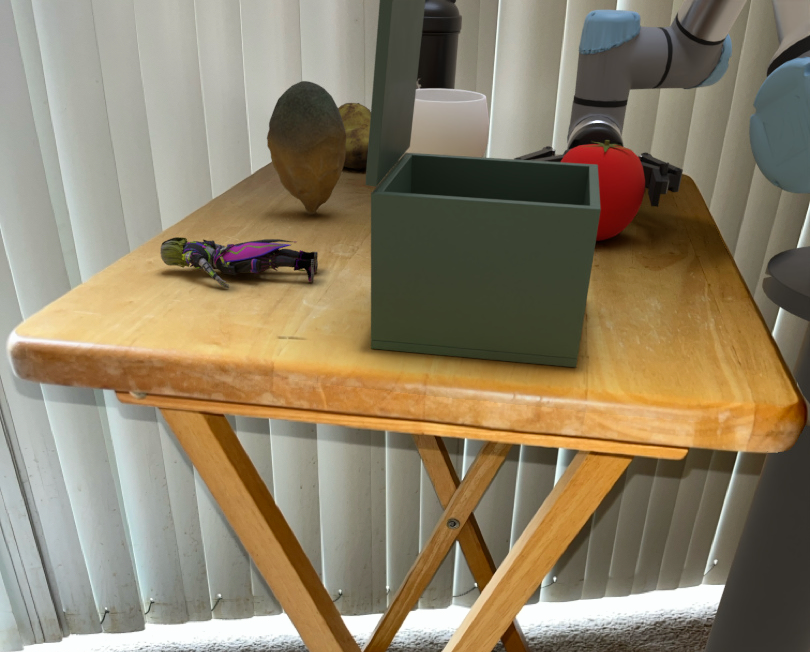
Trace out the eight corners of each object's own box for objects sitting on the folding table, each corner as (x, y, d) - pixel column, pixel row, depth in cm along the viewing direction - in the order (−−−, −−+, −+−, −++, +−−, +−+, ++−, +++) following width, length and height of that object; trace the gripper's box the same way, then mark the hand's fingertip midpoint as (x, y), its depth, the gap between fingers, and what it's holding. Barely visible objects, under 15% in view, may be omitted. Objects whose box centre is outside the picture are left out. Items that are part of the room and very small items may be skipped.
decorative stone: (350, 210, 109) (349, 79, 100) (343, 223, 104) (340, 86, 95) (277, 206, 109) (269, 75, 100) (266, 219, 104) (256, 82, 96)
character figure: (321, 266, 91) (174, 254, 91) (321, 231, 89) (170, 218, 89) (309, 296, 84) (149, 283, 84) (309, 258, 81) (144, 245, 81)
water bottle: (377, 158, 134) (378, -14, 121) (428, 151, 139) (434, -15, 126) (415, 170, 128) (421, -10, 114) (467, 163, 133) (478, -11, 119)
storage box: (577, 303, 83) (597, 164, 75) (576, 367, 70) (600, 209, 63) (402, 288, 85) (405, 152, 78) (370, 348, 73) (370, 193, 65)
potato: (318, 171, 126) (316, 112, 121) (335, 153, 136) (334, 98, 132) (373, 174, 125) (373, 115, 120) (386, 156, 135) (386, 101, 131)
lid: (436, -103, 66) (425, -105, 66) (402, -114, 54) (388, -115, 54) (409, 147, 77) (400, 145, 77) (376, 187, 65) (365, 185, 65)
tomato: (527, 237, 101) (538, 139, 94) (574, 220, 107) (587, 127, 101) (604, 256, 95) (621, 154, 89) (649, 237, 102) (667, 140, 96)
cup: (498, 241, 99) (511, 99, 90) (423, 254, 94) (428, 105, 86) (448, 219, 106) (455, 85, 97) (375, 229, 102) (376, 90, 93)
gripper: (683, 188, 114) (700, 231, 97) (500, 175, 117) (485, 216, 100) (696, 127, 109) (716, 161, 92) (505, 116, 113) (490, 147, 96)
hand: (596, 190), depth 96 cm, fingers open, 13 cm apart
